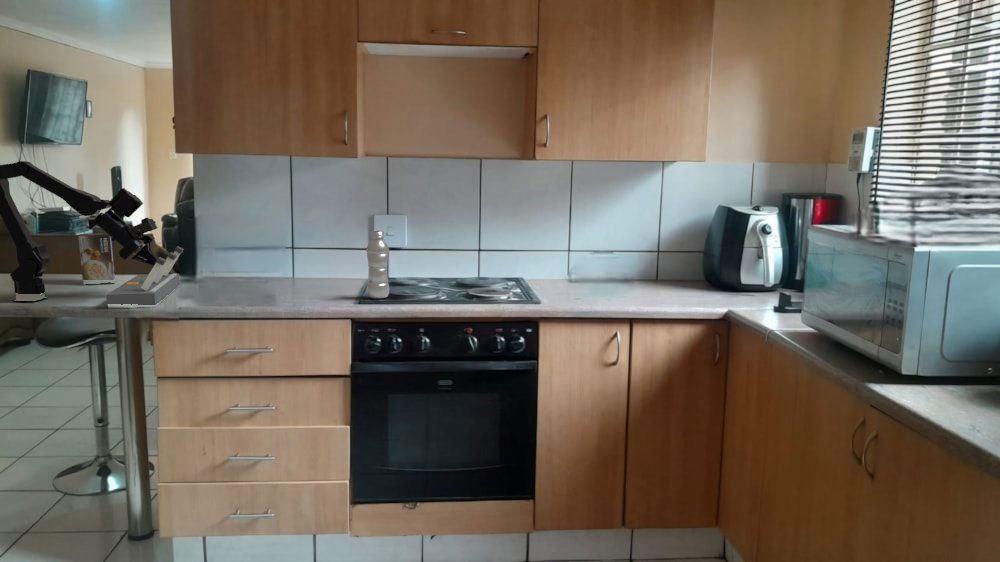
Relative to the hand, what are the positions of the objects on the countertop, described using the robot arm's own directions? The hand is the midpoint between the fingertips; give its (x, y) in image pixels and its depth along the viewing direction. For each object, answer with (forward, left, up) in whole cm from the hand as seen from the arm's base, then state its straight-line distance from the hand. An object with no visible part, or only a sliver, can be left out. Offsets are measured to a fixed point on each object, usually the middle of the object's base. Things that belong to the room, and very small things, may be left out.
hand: (161, 266), depth 212 cm
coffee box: (-31, +20, -9) cm, 38 cm away
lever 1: (+2, -13, -4) cm, 14 cm away
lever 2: (-5, +12, -4) cm, 14 cm away
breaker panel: (-4, -1, -9) cm, 10 cm away
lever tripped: (-2, 0, -4) cm, 5 cm away
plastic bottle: (+64, +3, -9) cm, 64 cm away
